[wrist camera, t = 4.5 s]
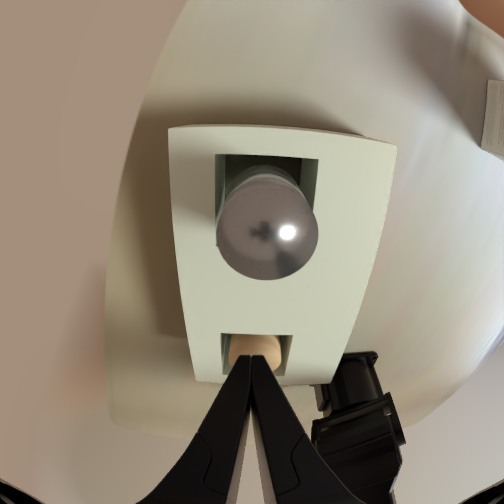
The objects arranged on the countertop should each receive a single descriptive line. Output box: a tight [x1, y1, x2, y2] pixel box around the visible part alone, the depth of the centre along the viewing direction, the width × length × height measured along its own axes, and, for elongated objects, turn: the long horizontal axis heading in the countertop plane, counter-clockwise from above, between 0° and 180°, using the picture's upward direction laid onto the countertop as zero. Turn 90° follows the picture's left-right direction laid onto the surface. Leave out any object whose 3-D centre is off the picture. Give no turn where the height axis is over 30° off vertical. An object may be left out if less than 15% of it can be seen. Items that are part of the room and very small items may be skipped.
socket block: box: [168, 124, 397, 385], centre depth 19 cm, size 12×20×5 cm, turn 178°
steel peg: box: [216, 165, 319, 280], centre depth 13 cm, size 4×4×5 cm
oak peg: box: [228, 333, 281, 371], centre depth 22 cm, size 4×4×5 cm
